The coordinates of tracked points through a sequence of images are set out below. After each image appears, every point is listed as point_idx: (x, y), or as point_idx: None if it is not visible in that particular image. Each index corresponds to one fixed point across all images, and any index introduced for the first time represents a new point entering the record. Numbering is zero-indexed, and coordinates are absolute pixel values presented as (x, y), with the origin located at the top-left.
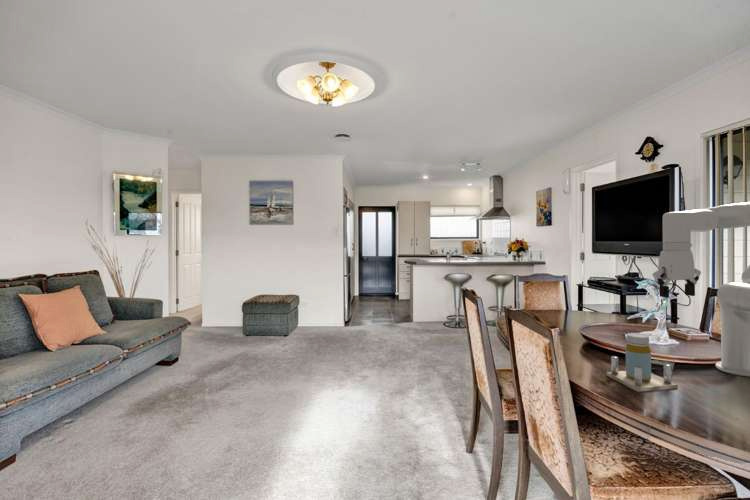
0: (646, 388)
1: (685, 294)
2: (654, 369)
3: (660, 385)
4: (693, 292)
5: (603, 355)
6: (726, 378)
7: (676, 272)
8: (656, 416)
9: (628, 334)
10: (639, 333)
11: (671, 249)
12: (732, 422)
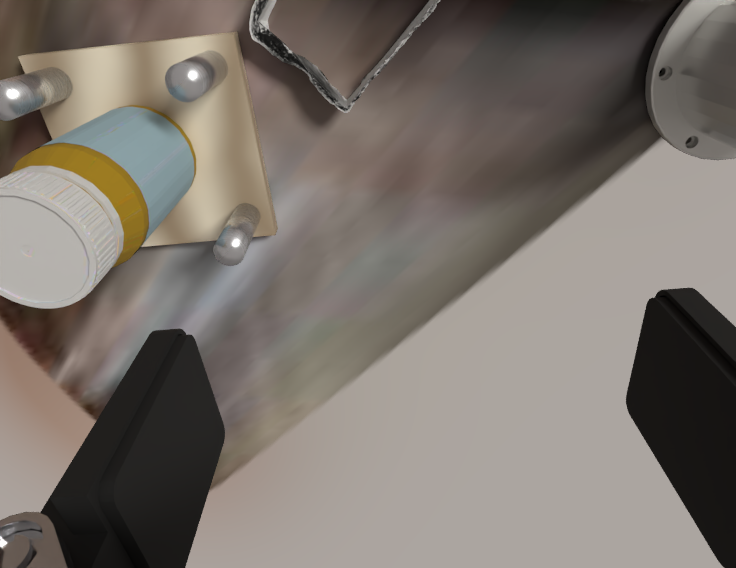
0: None
1: (647, 304)
2: (290, 51)
3: (202, 235)
4: (658, 449)
5: None
6: (567, 151)
7: None
8: (88, 390)
9: None
10: (56, 212)
11: None
12: (267, 424)
